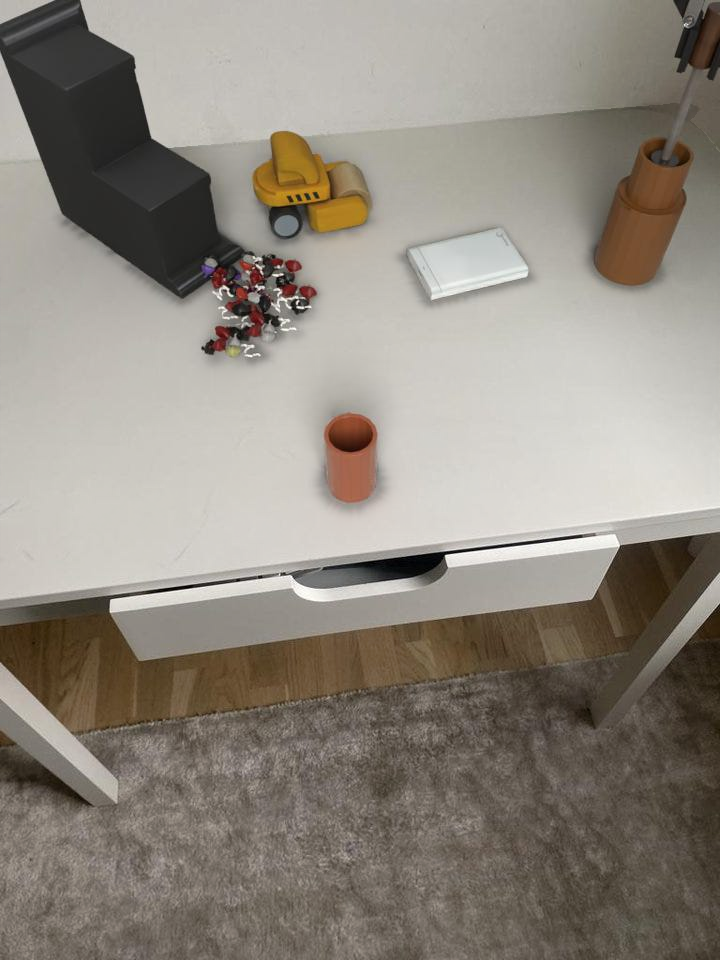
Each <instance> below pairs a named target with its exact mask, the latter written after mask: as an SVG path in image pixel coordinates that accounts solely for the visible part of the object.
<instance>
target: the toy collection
mask: <svg viewBox="0 0 720 960" xmlns="http://www.w3.org/2000/svg"><path fill="white" fill-rule="evenodd" d="M202 260H203V263H204V265H202V270H203V271H204V272H205V273H206V275H205V276H204V278H206V276H207V275H208V274H212V273H213V272H214V273H213V278H212V279H211V283H212V287H213V290H212V291H211V292H212V294H213V295H215V296H216V298H217V299H219V301H220V302H222V301H223V298H222V297H223V292H224V293H226V295H228V296H229V297H230V298H234V297H235V298H236V299H237V300H235V301H228V302H227V303H226V304H225V306H224V305H219V306H218V307H217V310H221V309H222V311H221V318H222V319H223V320H228V321H229V320H231V319H236V320H237V319H239V317H241V322H242V323H237V324H236V326H232V325H230V324H229V323H228V324H227V325H216V326H215V327H214V331H215V335H216V336H217V337H219V338H217V339H215V340H214V339H212V338H210V339H209V341H207V342H206V343H205V345H201V347H200V349H201V351H204V354H206V355H209V356H214V355H215V352H222V351H225V354H226V355H227V356H229V357H232V358H236V357H238V356H239V354H240V353H241V348H243V347H245V348H244V350H243V352H244V357H246V358H253V357H257V356H258V357H261V353H259V352H254V353H252V354H249V353H247V351H248V350H250V349H251V348H252V349H254V348H255V346H256V345H255V344H252V343H251V344H247V343H242V341H243V342H249V341H250V338H258V337H260V340H261V341H262V342H264V343H267V344H271V343H272V342H273V341H274V340H275V338H276V334H277V330H276V328H279V327H280V330H281V331H282V332H289V331H297V328H296V327H294V326H292V327H291V326H290V327H288V328H286V327H285V328H284V327H283V325H285V324H287V323H290V322H291V319H290V318H283V317H280V316H279V315H278V314H277V315H274V314H273V313H269V312H268V311H269V310H270V309H271V307H273V308H274V310H276V312H278V313H279V314H280V313H281V304H280V302H284V306H286V308H287V309H289V310H292V311H293V312H294V314H295V315H296V316H298V315H299V314H304V313H305V312H306V311H307V310H308V309H312V305H310V298H313V297H316V296H317V295H318V292H317V290H316V288H314V287H313V286H311V284H307V285H302V286H298V285H297V284H294V281H295V279H296V272H298V271H301V270H302V269H303V265H302V263H300V261H299V260H297V258H293V259H287V260H286V261H285V260H284V259H283V258H279V256H277V255H276V254H274V253H268V252H267V255H266V254H263V255H262V256H261V257H257V256H256V255H255V253H254V252H253V251H251V250H250V251H249V250H248V251H245V252H243V253H241V254H240V259H239V260H241V261H239V266H240V267H241V268H242V269H243V270H242V272H241V271H240V270H239V269H238V268H236V266H234V265H233V264H232V265H230V266H229V267H227V268H226V269H225V270H224V269H222V264H221V262H220V260H219V259H218V258H217V257H216V256H215V255H208V256H205V257H203V259H202ZM260 262H261V263H262V265H261V264H259V263H260ZM284 267H285V268H286V270H287V271H288V272H287V271H283V272H280V273H275V272H276V271H280V270H281V269H283V268H284ZM210 277H212V276H210ZM270 277H276V278H275V284H276V286H275V288H272V286H269V287H268V288H267V287H266V286H265V285H266V283H268V280H267V279H268V278H270ZM239 280H241V281H242V282H244V283H246V284H240V283H237V282H236V281H239ZM268 289H271V290H270V291H272V290H273V292H277V294H276V297H277V299H276V300H277V301H276V303H274V301H275V300H274V299H271V298H272V295H271V293H265V290H268ZM216 290H218V291H216ZM222 291H223V292H222ZM298 293H299V294H300V295H301V296H299V295H296V294H298ZM280 295H282V296H280ZM290 296H292V297H290ZM242 300H244V301H245V302H251V303H253V304H247V305H246V304H245V303H244V302H242ZM288 301H291V302H290V305H289V304H288ZM257 304H258V306H256V305H257ZM227 312H229V313H231V314H233V315H230V316H226V315H225V313H227ZM248 318H249V319H250V322H248V321H245V320H246V319H248ZM280 321H281V322H280ZM239 325H241V326H240V327H238V326H239ZM227 341H228V345H229V346H228V347H227Z"/></svg>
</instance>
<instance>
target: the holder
mask: <svg viewBox="0 0 720 960" xmlns="http://www.w3.org/2000/svg"><path fill="white" fill-rule="evenodd" d="M323 443H324V457H325V472H326V482H327V489H328V490H329V492H330V494H331V495H332V496H333V497H334V498H336V499H337V500H339V501H341V502H344V503H350V504H351V503H353V504H354V503H359V502H363V501H364V500H366V499H368V498H369V497H370V496H371V495H372V494H373V493H374V491H375V488H376V484H377V471H378V470H377V466H378V430H377V426H376V425H375V423H374V422H373V421H372V420H371V419H370V418H369V417H367V416H365V415H362V414H361V413H354V412H348V413H342V414H338V415H337V416H335V417H333V418H332V419H331V420H330V421H329V422H328V423H327V424H326V426H325V429H324V432H323Z"/></svg>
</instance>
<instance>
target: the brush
mask: <svg viewBox="0 0 720 960" xmlns="http://www.w3.org/2000/svg"><path fill="white" fill-rule="evenodd" d="M719 43H720V1H712V2H710V3H709V4H707V7H706V10H705V12H704V15H703V21H702V24H701V28H700V31H699V34H698V36H697V39H696V42H695V45H694V48H693V50H692V53H691V56H690V59H689V62H688V65H689V66H690V67H692V68H691V71H690V75H689V76H688V80H687V83H686V85H685V87H684V91H683V93H682V97H681V99H680V102H679V105H678V108H677V110H676V113H675V116H674V119H673V121H672V124H671V126H670V128H669V129H670V130H669V132H668V135H667V137H666V138H667V140H666V143H665V146H664V149H663V150H658V151H655V152H653V153H652V154H651V157H650V159H649V160H650V161H652V162H653V163H655V164H658V165H661V166H667V167H676V166H678V164H679V157H678V156H677V155H676V154H675V153H673V150H674V147H675V144H676V142H677V140H678V139H679V136H680V134H681V131H682V128H683V125H684V122H685V121H686V118H687V115H688V112H689V109H690V107H691V105H692V101H693V99H694V96H695V93H696V90H697V88H698V85H699V83H700V80H701V77H702V76H703V75H702V74H703V72H704V70H709V69H710V67H711V64H712V61H713V59H714V56H715V53H716V51H717V48H718V45H719Z"/></svg>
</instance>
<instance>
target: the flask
mask: <svg viewBox="0 0 720 960" xmlns="http://www.w3.org/2000/svg"><path fill="white" fill-rule="evenodd" d="M667 138H668V137H662V136H657V137H652V138H648V139H646V140H644V141H643V142H642V143H641V144H640V146H639V148H638V150H637V154H636V157H635V159H634V163H633V166H632V169H631V172H630V174H628V175H627V176H625V177H623V178H622V179H621V180H619V182H618V183H617V185H616V189H615V192H614V195H613V197H612V201H611V205H610V207H609V210H608V213H607V217H606V220H605V223H604V225H603V230H602V233H601V235H600V239H599V242H598V245H597V248H596V251H595V255H594V258H593V259H594V260H593V261H594V266H595V268H596V270H597V272H599V273H600V275H602V277H604V278H605V279H607V280H609V281H610V282H613V283H616V284H618V285H623V286H639V285H643V284H646V283H649V282H651V280H652V281H653V279H654V278H655V277H656V276H657V274H658V271H659V269H660V267H661V265H662V262H663V260H664V258H665V256H666V252H667V250H668V248H669V246H670V243H671V241H672V238H673V237H674V236H673V235H674V234H675V231H676V228H677V227H678V224H679V221H680V219H681V216H682V214H683V212H684V209H685V207H686V205H687V199H688V197H687V193H686V190H685V189H684V185H685V182H686V180H687V177H688V176H689V172H690V170H691V167H692V165H693V162H694V160H695V155H694V151H693V150H692V149H691V147H690V146H689V145H687V144H686V143H684V142H683V141H681V140H678V139H677V142H676V144H675V147H674V150H673V153H675V154H676V155H677V156H678V157H679V164H678V166H676V167H667V166H661V165H658V164H655V163H653V162H652V161H650V160H649V159H650V157H651V154H652V153H653V152H655V151H658V150H663V149H664V146H665V143H666V140H667Z"/></svg>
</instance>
